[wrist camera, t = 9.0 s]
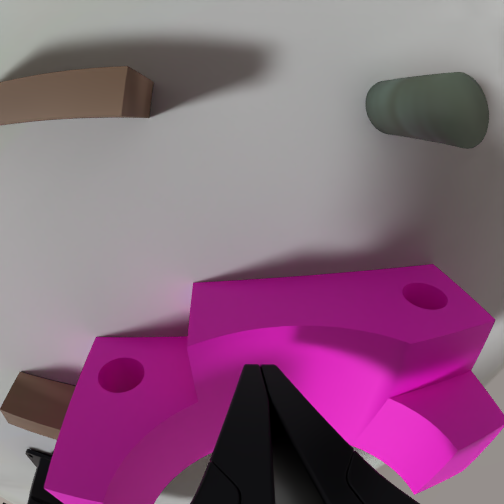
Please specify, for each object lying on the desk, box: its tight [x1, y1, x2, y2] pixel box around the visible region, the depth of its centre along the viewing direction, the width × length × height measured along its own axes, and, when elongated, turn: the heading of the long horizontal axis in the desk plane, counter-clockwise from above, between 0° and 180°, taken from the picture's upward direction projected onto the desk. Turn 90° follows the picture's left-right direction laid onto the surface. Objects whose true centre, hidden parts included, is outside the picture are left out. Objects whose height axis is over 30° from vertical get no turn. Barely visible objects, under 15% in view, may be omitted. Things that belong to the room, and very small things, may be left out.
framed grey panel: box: [0, 66, 489, 440], centre depth 9 cm, size 18×27×4 cm, turn 82°
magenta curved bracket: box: [44, 264, 504, 504], centre depth 9 cm, size 15×6×8 cm, turn 91°
